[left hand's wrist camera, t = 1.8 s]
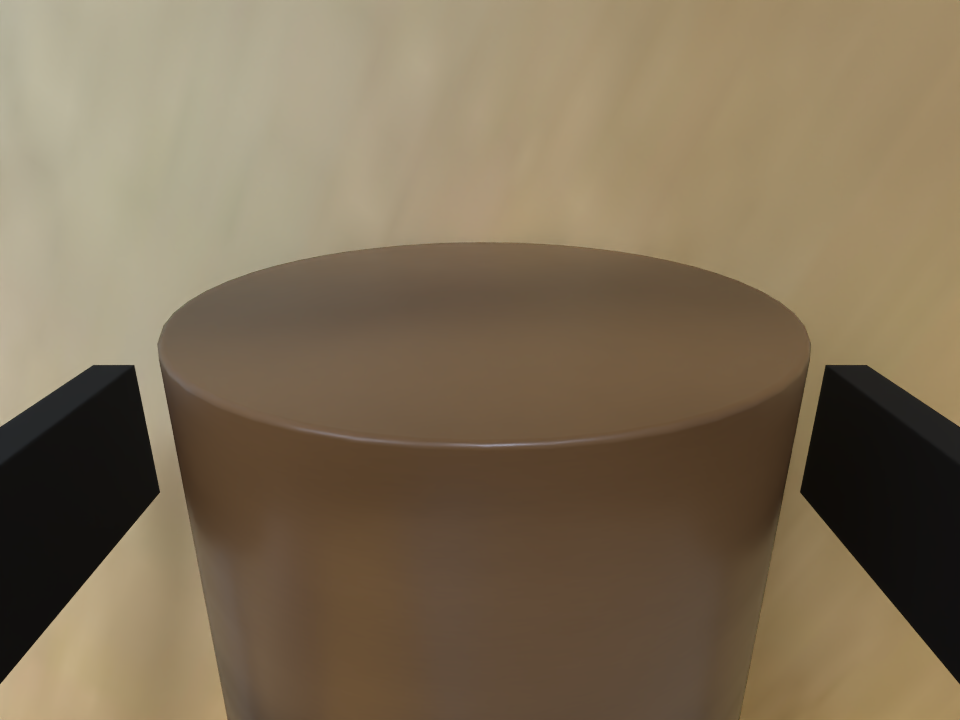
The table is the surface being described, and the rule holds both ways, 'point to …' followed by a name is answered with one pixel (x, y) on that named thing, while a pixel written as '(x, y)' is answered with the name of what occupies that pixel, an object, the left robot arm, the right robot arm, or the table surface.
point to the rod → (483, 481)
